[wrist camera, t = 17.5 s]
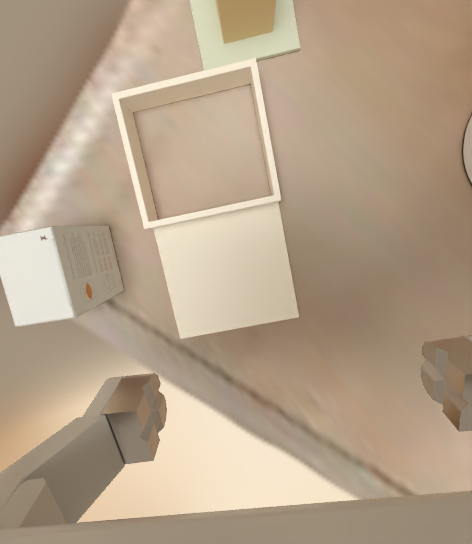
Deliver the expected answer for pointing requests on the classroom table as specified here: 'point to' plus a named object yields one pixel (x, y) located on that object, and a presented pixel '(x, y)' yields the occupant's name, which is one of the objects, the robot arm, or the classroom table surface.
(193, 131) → the classroom table surface
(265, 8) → the block
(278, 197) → the box
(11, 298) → the small box
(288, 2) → the sage mat
